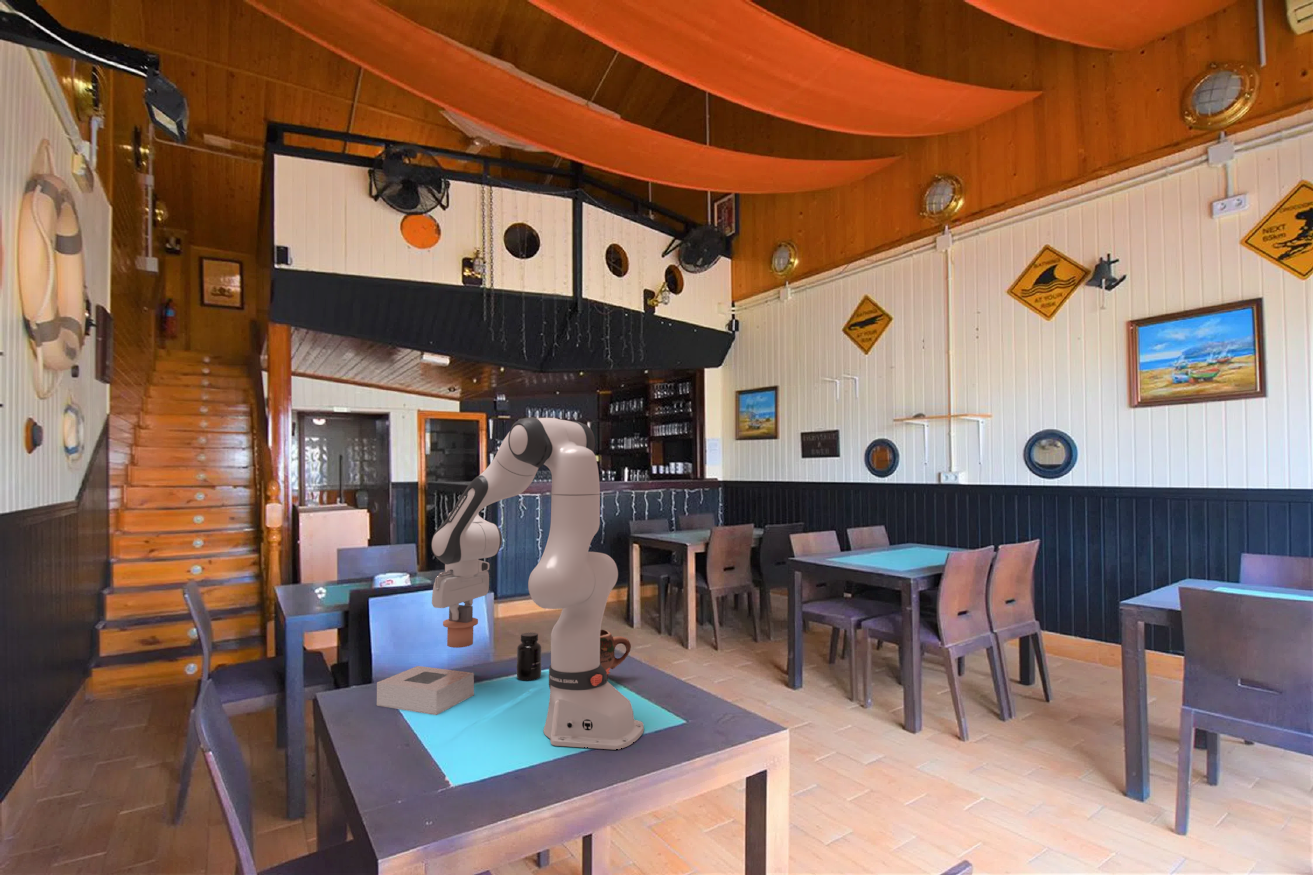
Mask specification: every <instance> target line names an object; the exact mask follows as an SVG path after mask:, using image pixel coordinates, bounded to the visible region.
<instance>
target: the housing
mask: <svg viewBox="0 0 1313 875" xmlns="http://www.w3.org/2000/svg"><path fill="white" fill-rule="evenodd" d="M474 695H475V673H474V672H468V671H463V670H462V671H460V670H453V669H445V668H439V667H438V668H437V667H430V666H429V667H428V666H422V665H421V666H420V665H416V666H414V667H412V668H409V669H407V670H404V671H401V672H398V673H397V674H395V675H391V676H389V677H387V678H385V679H382V680H380V681H377V682H376V706H377V707H383V708H390V709H396V710H403V711H409V712H415V713H421V714H428V715H433V716H437V715H440V714H441V713H443V712H445V711H446V710H449V709H450V708H452V707H455V706H456V705H458V704H460V703H462V702H464V701H465V700H468V699H469V698H472V697H474Z"/></svg>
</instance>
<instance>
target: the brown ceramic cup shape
mask: <svg viewBox="0 0 1313 875" xmlns="http://www.w3.org/2000/svg"><path fill="white" fill-rule="evenodd" d="M618 645H624V647H625V652H624V653H623V655H622V656H621V657H619V658H618V657H616V656H615V652H616V651H615V650H616V646H618ZM631 645H632V644H631V642H630V641H629V639H628V638H627V637H624V636H621V635H619V636H618V635H617V636H612V633H611V632H610V631H609V630H606V629H602V628H601V630H600V663H601V665H602V667H603V668H604V669H605V670H607V669H608V668H610V670H614V669H615V668H616V667H618V666H619V665H621V664H622V663H623V662H624V661H625V660H626V658H627V657H628V655H629V654H630V652H631V648H632V646H631ZM608 680H609V674H607V682H609V681H608Z"/></svg>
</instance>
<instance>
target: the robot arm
mask: <svg viewBox="0 0 1313 875" xmlns="http://www.w3.org/2000/svg"><path fill="white" fill-rule="evenodd" d="M595 446H596V438H595V435H594V432H593V430H592V429H591V427H589V425H587V424H585V423H582V422H580V421H576V420H572V421H571V420H565V419H559V418H557V417H534V416H533V417H532V416H531V417H523V418H520V419H518V420H516V421H515V422H514V423H513V424H512V426H511V428H510V430H509V432H508V433H507V434H506V436H505V437H504V439H503V441H502V442H501V445H500V446H499V448H498V449H497V452H496V454H495V456H494V458H493V460H492V461H491V462H490V464H489V465H488V466H487V467H486V469H484V471H483V472H481V473H480V474H479V475H477V476H476V477H474V478H473V480H471V481H470V483H469V484H468V485H467V487H466V488H465V490H464V491H463V493H462V494H461V496H460V497H459V499H458V501H457V502H456V503H455V505H454V507H453V508H452V510H451V511H450V512H449V513H448V516H447V517H446V519H445V520H444V521H443V523H441V524H440V525H439V527H438V528H437V529H436V530H435V532H434V533H433V536H432V537H431V544H430V546H431V552H432V554H433V556H435V558H436V559H437V560H439V561H440V562H441V563H443V564H444V571H441V572H439V573H438V575H437V576H436V577H435V579H434V583H433V588H432V594H431V595H432V596H431V604H432V607H433V608H435V609H446V608H448V607H449V608H450V611H451V613H452V619H453V620H459V619H461V613H459V611H458V607H459V605H460V604H461V603H464V605H465V606H473V604H474V599H477V598H481V597H484V596H486V595H488V593H489V589H490V588H489V587H490V575H489V574H490V573H489V570H490V563H489V562H487V561H484V560H481V559H487V558H491V557H495V556H496V555H497V554H498V553H499V552H500V550H501V547H502V542H503V536H502V531H501V529H500V527H499V526H498V525H497V524H495V523H493V522H490V521H487V520H485V519H484V518H483V517H481V516H480V514H479V512H481V511H482V510H483V509H484V508H485V507H488V506H489V505H491V504H494V503H496V502H499V501H502V500H506V499H509V498H513V497H516V496H518V495H521V494H522V493H524V492H525V491H526V490H527V489H528V487H530V485H531V484H532V483H533V480H534V479H535V476H536V475H537V472H538V470H539V468H541V467H542V466H543V465H544V466H546V467H547V468H548V469H549V471H550V472H551V473H550V474H551V496H550V497H551V499H550V500H551V504H550V505H551V506H550V509H551V510H550V526H549V527H550V528H549V533H548V538H547V542H546V545H545V547H544V550H543V553H542V556H541V558H540V560H539V561H538V563H537V565H536V566H535V567H534V568H533V570H532V571H531V572H530V574H529V578H528V584H527V586H528V587H527V589H528V593H529V596H530V598H531V600H532V601H533V603H534V604H535V605H536V606H538V607H540V608H542V609H545V610H546V609H548V610H552V609H553V610H558V609H559V610H561V612H560V615H559V618H558V619H557V621H556V623H555V624H554V625H553V628H552V629H551V632H550V665H549V667H548V687H549V690H550V691H549V700H548V701H549V702H548V709H547V714H546V720H545V723H544V727H543V734H544V735H545V736H546V737H547V738H549V740H550V741H549V742H550V744H551V745H552V746H556V747H557V746H558V747H571V748H572V747H573V748H584V747H585V749H599V750H603V749H604V750H613V751H614V750H616V749H618V750H622V749H624V748H626V747H627V748H628V747H629V746H630V745H632V744H634V743H635V742H636V741H638V739H640V737H641V736H642V735H643V734H644V730H645V727H644V726H645V725H644V723H643V721H641V720H637V719H635V718H634V709H633V706H632V705H633V704H632V702H631V701H630V700H629V699H628V698H627V697H626V696H625V695H624V694H622V693H621V692H620V691H619V690H618V689H616V687H614V686H613V685H612V684H611V683H610V682H609V681H608V682H607V674H608V675H609V674H610V673H611V671H610V670H611V668H608V669H607V670H605V669H604V668H603V667H602V665H601V663H600V630H601V629H602V628H601V627H602V623H603V618H604V614H605V610H606V606H607V602H608V599H609V596H610V594H611V592H612V590H613V589H614V587H615V586H616V584H617V582H618V578H619V570H618V566H617V563H616V562H615V560H614V559H613V558H612V557H611V556H610V555H608V554H607V553H603V552H597V551H589V550H590V546H591V543H592V540H593V539H594V536H595V535H596V534H597V533H598V531H599V529H600V523H601V522H600V521H601V520H600V519H601V518H600V517H601V515H600V514H601V510H600V509H601V506H600V505H601V504H600V503H601V500H600V498H601V495H600V493H601V490H600V488H601V487H600V484H601V483H600V474H599V466H598V462H597V458H596V454H595V453H594V450H595ZM449 608H448V609H449ZM633 742H634V743H633ZM587 747H588V748H587ZM621 748H622V749H621Z"/></svg>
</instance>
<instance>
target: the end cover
mask: <svg viewBox="0 0 1313 875" xmlns="http://www.w3.org/2000/svg"><path fill="white" fill-rule="evenodd" d="M473 610H474V607H473V605H472V606H465V604H464V605H463V604H459V607H458V611H459V613H461V619H459V620H453V619H452V613H451V611H450V608H448V618H447V619H445V620H443V621H442V626H443V627H445V628H447V635H446V636H447V638H446V640H447V641H446V642H447V643H446V646H447V647H449V648H456V649H457V648H459V649H461V648H466V647H471V646H472V645H473V644H474V626H477V625H478V623H479V619H478V618H476V617H473Z"/></svg>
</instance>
